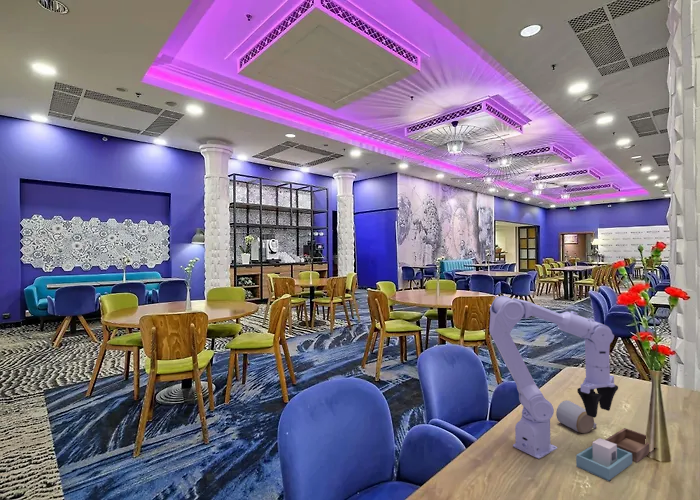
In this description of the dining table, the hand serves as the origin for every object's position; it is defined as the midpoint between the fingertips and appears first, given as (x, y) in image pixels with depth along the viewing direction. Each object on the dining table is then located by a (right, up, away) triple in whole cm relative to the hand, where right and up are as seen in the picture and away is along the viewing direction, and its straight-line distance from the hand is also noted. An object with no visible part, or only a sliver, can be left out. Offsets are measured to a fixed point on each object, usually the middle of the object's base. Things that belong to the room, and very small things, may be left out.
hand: (598, 412), depth 105 cm
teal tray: (-4, -11, -8) cm, 14 cm away
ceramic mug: (+2, -11, +13) cm, 17 cm away
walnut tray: (+8, -10, -1) cm, 13 cm away
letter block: (-4, -10, -8) cm, 13 cm away
